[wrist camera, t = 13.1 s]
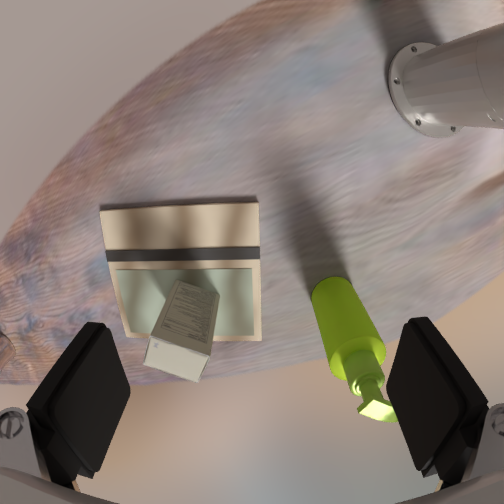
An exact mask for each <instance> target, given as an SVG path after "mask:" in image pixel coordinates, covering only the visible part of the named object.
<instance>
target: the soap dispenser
mask: <svg viewBox="0 0 504 504" xmlns="http://www.w3.org/2000/svg"><path fill="white" fill-rule="evenodd" d="M311 301H312V305H313V309H314V312H315V316H316V319H317V323H318V326H319V330H320V333H321V337H322V340H323V344H324V348H325V351H326V355H327V359H328V362H329V366H330V370H331V372H332V373H333V374H334V376H336V377H337V378H339V379H342V380H346V381H348V385H349V388H350V391H351V392H352V393H353V394H354V395H357V396H362V398H363V401H364V402H363V403H362V404H361V405H360V406H359V407H358V408H357V410H358V413H359V414H362V415H365V416H368V417H370V418H373V419H376V420H379V421H384V422H397V421H398V419H397V417H396V414H395V412H394V409H393V407H392V404H391V402H390V401H387V400H385V399H384V398H383V396H382V394H381V391H380V388H381V387H382V385H383V383H384V381H385V376H384V374H383V372H382V369H381V367H380V366H381V365H382V363H383V361H384V359H385V356H386V348H385V345H384V343H383V341H382V339H381V337H380V336H379V334H378V332H377V330H376V328H375V326H374V324H373V322H372V321H371V319H370V317H369V315H368V313H367V311H366V310H365V308H364V306H363V304H362V302H361V301H360V299H359V297H358V295H357V293H356V292H355V290H354V288H353V286H352V285H351V283H350V282H349V281H348V280H346V279H344V278H342V277H329V278H326V279H324V280H322V281H321V282H320V283H318V284H317V286H316V287H315V288H314V290H313V292H312V296H311Z"/></svg>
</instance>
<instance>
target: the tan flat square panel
mask: <svg viewBox="0 0 504 504" xmlns="http://www.w3.org/2000/svg"><path fill="white" fill-rule="evenodd" d="M100 219H101V225H102V231H103V237H104V242H105V248H106V251H105V252H106V257H107V262H108V263H109V268H110V273H111V277H112V282H113V286H114V291H115V295H116V299H117V303H118V307H119V311H120V315H121V318H122V322H123V326H124V329H125V333H126V336H127V337H134V338H149V337H150V334H151V332H152V330H153V328H154V325H155V323H156V321H157V319H158V317H159V314H160V312H161V310H162V308H163V305H164V303H165V301H166V299H167V297H168V295H169V293H170V291H171V288H172V286H173V284H174V282H175V280H179V281H182V282H185V283H188V284H191V285H194V286H197V287H200V288H202V289H205V290H208V291H210V292H213V293H216V294H218V295H220V300H219V306H218V312H217V318H216V324H215V330H214V336H213V341H262V333H261V282H260V238H259V202H235V203H208V204H186V205H168V206H152V207H137V208H123V209H111V210H102V211H100Z"/></svg>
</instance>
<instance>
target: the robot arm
mask: <svg viewBox="0 0 504 504" xmlns="http://www.w3.org/2000/svg"><path fill="white" fill-rule="evenodd" d="M394 81H395V82H396V84H395V83H394ZM388 84H389V89H390V94H391V97H392V100H393V103H394V105H395V106H396V108H397V110H398V112H399V113H400V115H401V116H402V118H403V119H404V120H405V121H406V122H407V123H408V124H409V125H410V126H411V127H412V128H414V129H415V130H416V131H418V132H420V133H422V134H424V135H426V136H430V137H437V138H444V137H449V136H452V135H454V134H456V133H458V132H459V131H460V130H461V129H462V128H463V127H464V126H468V127H485V128H498V129H504V23H502V24H498V25H495V26H492V27H489V28H486V29H483V30H480V31H477V32H474V33H471V34H469V35H466V36H463V37H460V38H458V39H455V40H453V41H450V42H447V43H445V44H442V45H440V46H436V45H433V44H431V43H425V42H418V43H413V44H410V45H407V46H405V47H404V48H402V49H401V50H400V51H398V52H397V54H396V55H395V56H394V58H393V60H392V62H391V65H390V68H389V74H388ZM415 121H416V123H415ZM386 390H387V394H388V397H389V399H390V402H391V404H392V407H393V409H394V412H395V414H396V417H397V419H398V422H399V424H400V427H401V430H402V432H403V435H404V437H405V440H406V443H407V445H408V448H409V451H410V454H411V456H412V459H413V462H414V465H415V467H416V469H417V470H418V471H421V472H422V475H423V477H428V476H430V475H433V474H437V473H438V476H439V478H440V481H439V483H438V485H437V488H436V490H435V492H434V493H430V494H428V495H424V496H421V497H417V498H414V499H411V500H407V501H403V502H400V503H396V504H504V403H502V404H496V405H494V406H492V407H491V408H490V409H489V408H488V406H487V403H488V400H487V399H486V397H485V395H484V394H483V393H482V391H481V389H480V388H479V386H478V385H477V384H476V382H475V381H474V379H473V378H472V377H471V375H470V373H469V372H468V370H467V369H466V368H465V366H464V365H463V363H462V362H461V361H460V359H459V358H458V356H457V355H456V354H455V352H454V351H453V350H452V348H451V347H450V345H449V344H448V343H447V341H446V340H445V339H444V338H443V336H442V335H441V334H440V332H439V331H438V330H437V328H436V327H435V326H434V324H433V323H432V322H431V321H430V319H429V318H428V317H417V318H411V319H409V321H408V323H406V324H404V326H403V330H402V334H401V337H400V341H399V345H398V348H397V352H396V356H395V359H394V362H393V365H392V369H391V372H390V375H389V378H388V381H387V385H386ZM129 397H130V385H129V383H128V380H127V378H126V375H125V372H124V369H123V366H122V364H121V361H120V358H119V355H118V352H117V349H116V346H115V343H114V340H113V336H112V333H111V331H110V329H109V328H107V327H106V325H105V324H103V323H96V322H87V323H86V324H85V325H84V326H83V328H82V329H81V330H80V331H79V333H78V334H77V335H76V336H75V338H74V339H73V340H72V342H71V343H70V344H69V346H68V347H67V348H66V350H65V351H64V352H63V354H62V355H61V356H60V358H59V359H58V360H57V362H56V363H55V364H54V366H53V367H52V368H51V370H50V371H49V373H48V374H47V375H46V377H45V378H44V380H43V381H42V382H41V384H40V385H39V387H38V388H37V390H36V391H35V393H34V394H33V396H32V397H31V398H30V400H29V401H28V403H27V404H26V406H27V407H28V409H29V410H28V411H27V413H25V412H24V410H22V409H20V408H16V407H11V408H6V409H4V410H2V411H1V412H0V504H118V503H114V502H110V501H107V500H104V499H100V498H96V497H93V496H90V495H87V494H84V493H81V492H80V489H79V487H78V484H77V482H76V477H77V474H79V475H82V476H85V477H88V478H91V479H93V476H94V473H95V472H98V471H99V470H100V468H101V466H102V463H103V460H104V458H105V455H106V453H107V450H108V448H109V445H110V443H111V440H112V438H113V435H114V433H115V430H116V428H117V425H118V423H119V421H120V418H121V416H122V413H123V411H124V409H125V406H126V404H127V401H128V399H129Z"/></svg>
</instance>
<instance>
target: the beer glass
mask: <svg viewBox="0 0 504 504" xmlns="http://www.w3.org/2000/svg"><path fill="white" fill-rule="evenodd" d="M15 356H16V350H15V348H14V346H13V344H12V343H11V341H10V340H9V339H8V338H7V337H5V336H4V335H2V334H0V374H1V372H2V370H3V368H4V366H5V365H6V364H7V363H8V362H9V361H11V360H12V359H13V358H14V357H15Z"/></svg>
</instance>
